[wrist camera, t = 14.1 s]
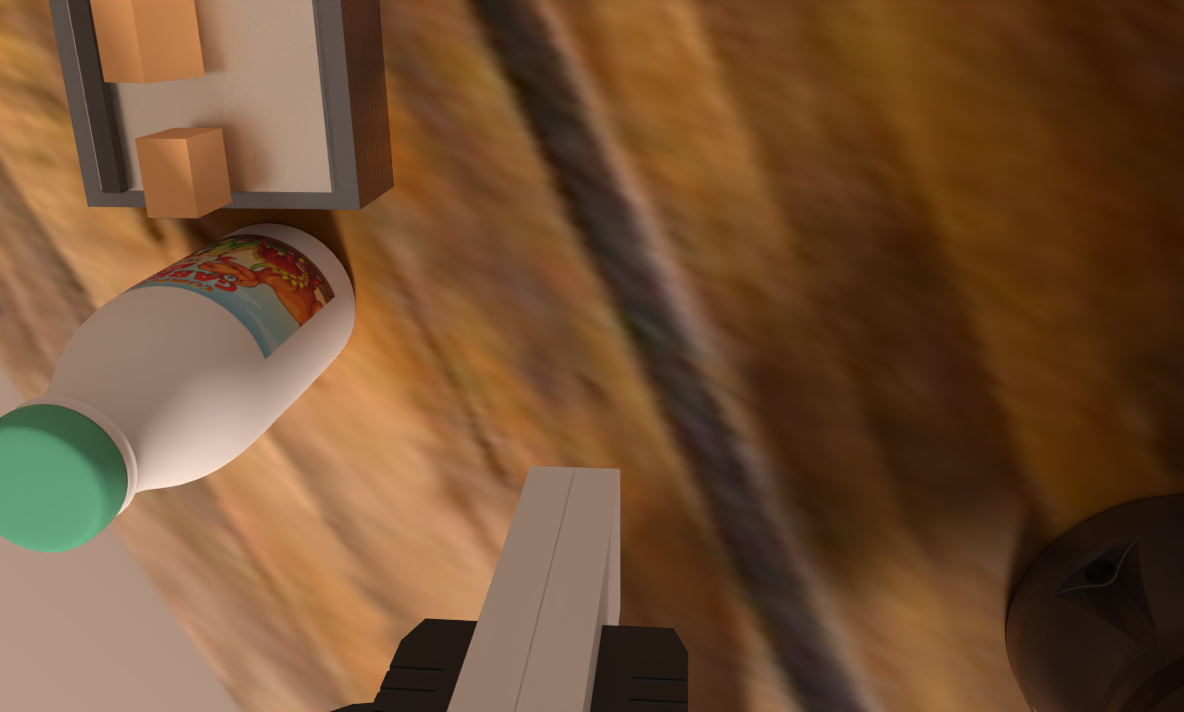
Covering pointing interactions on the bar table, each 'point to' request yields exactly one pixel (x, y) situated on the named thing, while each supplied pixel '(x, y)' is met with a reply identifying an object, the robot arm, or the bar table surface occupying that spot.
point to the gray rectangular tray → (245, 103)
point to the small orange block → (147, 40)
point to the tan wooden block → (183, 172)
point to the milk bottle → (172, 381)
